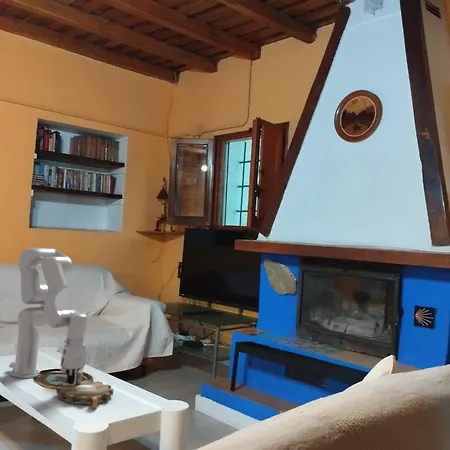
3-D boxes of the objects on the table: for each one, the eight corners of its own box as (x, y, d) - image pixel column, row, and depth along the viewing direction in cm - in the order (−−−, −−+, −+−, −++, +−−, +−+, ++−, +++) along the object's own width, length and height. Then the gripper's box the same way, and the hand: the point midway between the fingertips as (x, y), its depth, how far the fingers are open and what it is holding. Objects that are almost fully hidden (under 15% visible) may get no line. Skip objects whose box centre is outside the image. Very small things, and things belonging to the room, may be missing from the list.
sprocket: (47, 388, 226) (49, 372, 226) (96, 382, 242) (98, 367, 242) (72, 406, 209) (73, 388, 209) (123, 397, 225) (124, 381, 225)
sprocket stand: (47, 397, 219) (48, 388, 219) (79, 384, 240) (80, 376, 240) (94, 410, 211) (95, 400, 211) (123, 395, 231) (124, 386, 231)
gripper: (64, 345, 220) (59, 388, 220) (94, 342, 231) (89, 383, 231) (55, 341, 225) (50, 383, 225) (85, 338, 236) (80, 378, 236)
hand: (70, 383), depth 228 cm, fingers closed
